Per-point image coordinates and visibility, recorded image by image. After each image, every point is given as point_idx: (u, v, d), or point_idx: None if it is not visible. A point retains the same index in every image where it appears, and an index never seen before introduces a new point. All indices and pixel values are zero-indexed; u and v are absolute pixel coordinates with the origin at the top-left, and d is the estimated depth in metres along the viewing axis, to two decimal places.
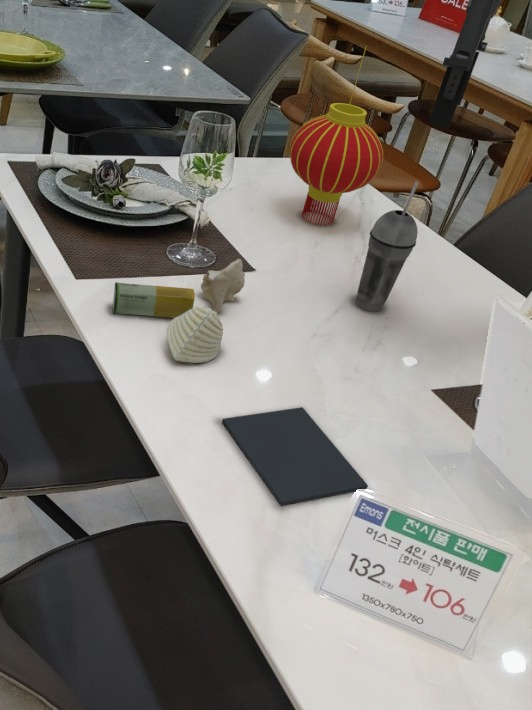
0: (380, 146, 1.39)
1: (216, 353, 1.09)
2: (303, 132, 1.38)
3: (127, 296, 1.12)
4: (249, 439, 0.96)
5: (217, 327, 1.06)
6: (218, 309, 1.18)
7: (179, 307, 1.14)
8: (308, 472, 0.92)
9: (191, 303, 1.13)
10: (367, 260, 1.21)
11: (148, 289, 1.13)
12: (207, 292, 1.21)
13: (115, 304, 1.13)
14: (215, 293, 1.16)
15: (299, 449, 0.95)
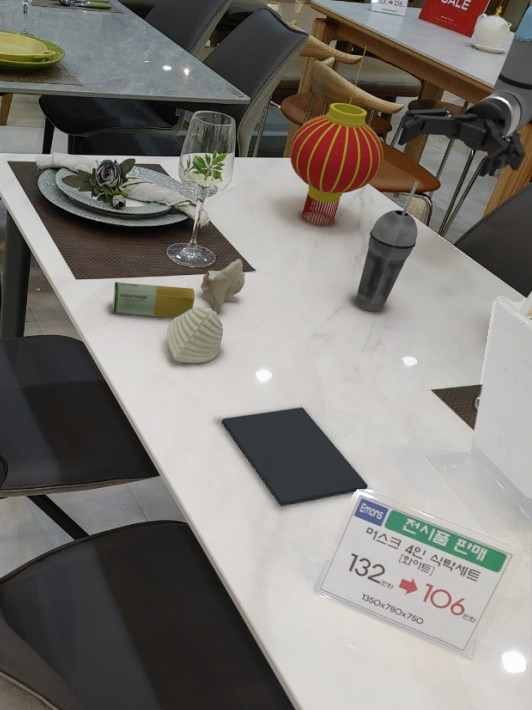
0: (380, 146, 1.39)
1: (216, 353, 1.09)
2: (303, 132, 1.38)
3: (127, 295, 1.12)
4: (249, 439, 0.96)
5: (217, 327, 1.06)
6: (218, 309, 1.18)
7: (179, 306, 1.14)
8: (308, 472, 0.92)
9: (191, 303, 1.14)
10: (367, 260, 1.21)
11: (148, 289, 1.13)
12: (207, 292, 1.21)
13: (115, 304, 1.13)
14: (215, 293, 1.16)
15: (299, 449, 0.95)
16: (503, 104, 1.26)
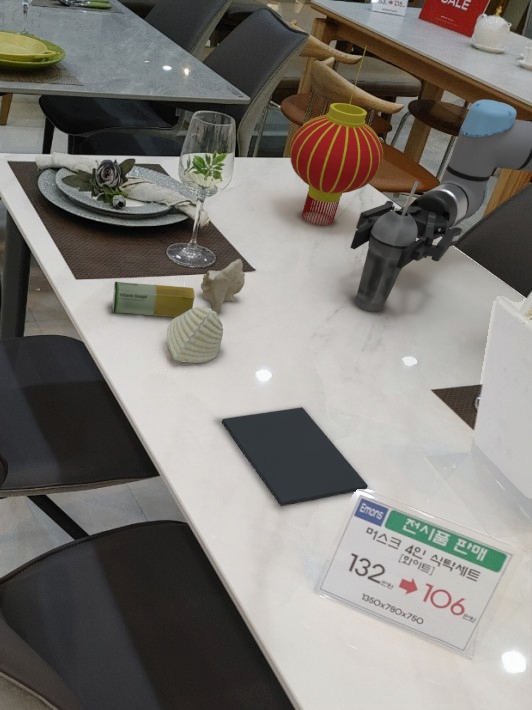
0: (380, 146, 1.39)
1: (216, 353, 1.09)
2: (303, 132, 1.38)
3: (127, 295, 1.12)
4: (249, 439, 0.96)
5: (217, 327, 1.06)
6: (218, 309, 1.18)
7: (179, 306, 1.14)
8: (308, 472, 0.92)
9: (191, 302, 1.14)
10: (367, 260, 1.21)
11: (148, 289, 1.13)
12: (207, 292, 1.21)
13: (115, 303, 1.13)
14: (215, 293, 1.16)
15: (299, 449, 0.95)
16: (448, 197, 1.27)
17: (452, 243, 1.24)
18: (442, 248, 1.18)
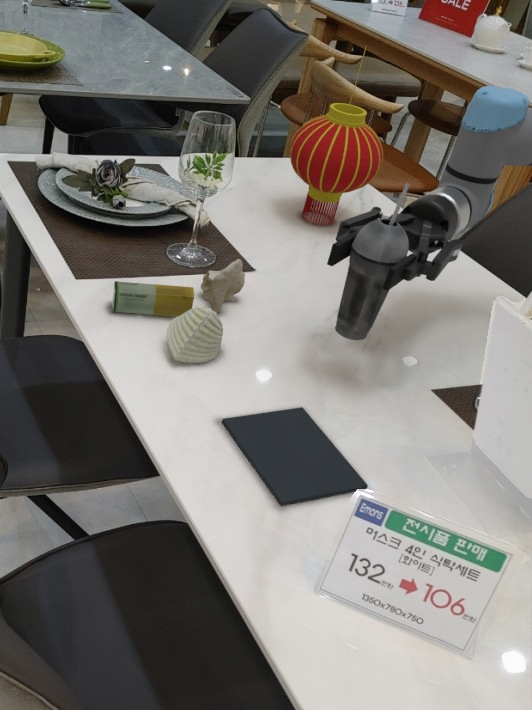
0: (380, 146, 1.39)
1: (216, 353, 1.09)
2: (303, 132, 1.38)
3: (127, 294, 1.12)
4: (249, 439, 0.96)
5: (217, 327, 1.06)
6: (218, 309, 1.18)
7: (178, 305, 1.14)
8: (308, 472, 0.92)
9: (191, 301, 1.14)
10: (348, 279, 1.00)
11: (148, 288, 1.13)
12: (207, 292, 1.21)
13: (115, 303, 1.14)
14: (215, 293, 1.16)
15: (299, 449, 0.95)
16: (446, 202, 1.05)
17: (451, 258, 1.03)
18: (439, 265, 0.97)
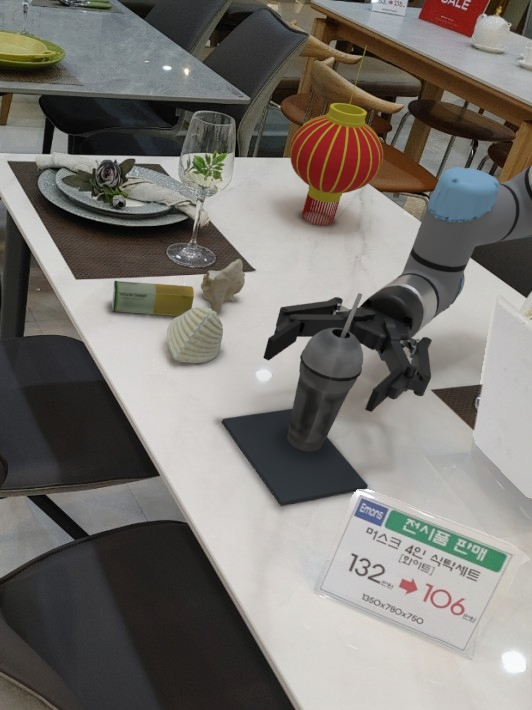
0: (380, 146, 1.39)
1: (216, 353, 1.09)
2: (303, 132, 1.38)
3: (127, 294, 1.13)
4: (249, 439, 0.96)
5: (217, 327, 1.06)
6: (218, 309, 1.18)
7: (178, 304, 1.14)
8: (308, 472, 0.92)
9: (191, 301, 1.14)
10: (298, 390, 0.91)
11: (148, 287, 1.13)
12: (207, 292, 1.21)
13: (115, 302, 1.14)
14: (215, 293, 1.16)
15: None
16: (410, 296, 0.96)
17: None
18: (429, 380, 0.87)
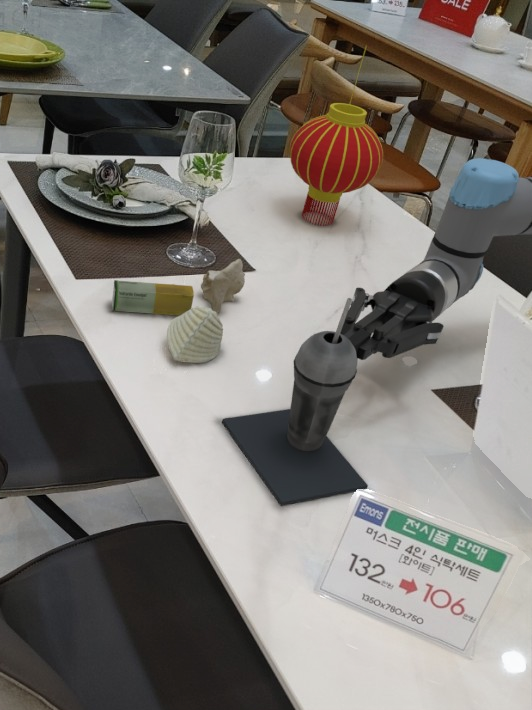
0: (380, 146, 1.39)
1: (216, 353, 1.09)
2: (303, 132, 1.38)
3: (127, 293, 1.13)
4: (249, 439, 0.96)
5: (217, 327, 1.06)
6: (218, 309, 1.18)
7: (178, 304, 1.14)
8: (308, 472, 0.92)
9: (190, 300, 1.14)
10: (294, 393, 0.90)
11: (148, 287, 1.13)
12: (207, 292, 1.21)
13: (114, 302, 1.14)
14: (215, 293, 1.16)
15: None
16: (433, 281, 1.01)
17: (427, 341, 0.98)
18: (393, 343, 0.93)
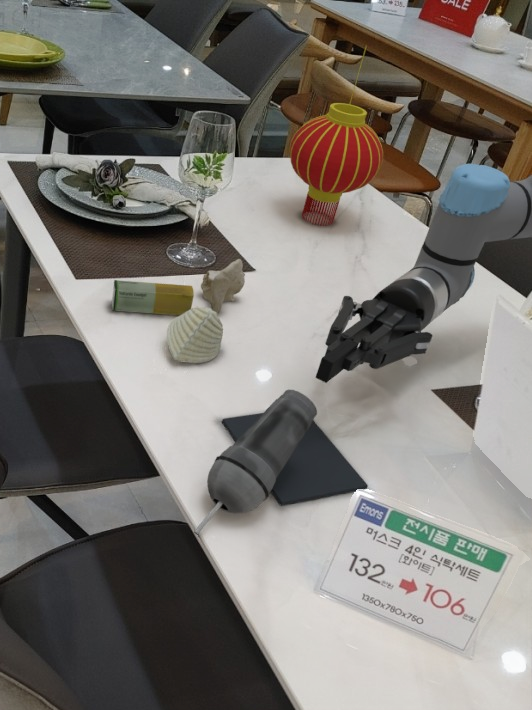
0: (380, 146, 1.39)
1: (216, 353, 1.09)
2: (303, 132, 1.38)
3: (127, 293, 1.13)
4: None
5: (217, 327, 1.06)
6: (218, 309, 1.18)
7: (178, 304, 1.14)
8: (308, 472, 0.92)
9: (190, 300, 1.14)
10: None
11: (148, 287, 1.13)
12: (207, 292, 1.21)
13: (114, 302, 1.14)
14: (215, 293, 1.16)
15: (299, 449, 0.95)
16: (422, 289, 0.99)
17: (416, 351, 0.96)
18: (380, 354, 0.91)
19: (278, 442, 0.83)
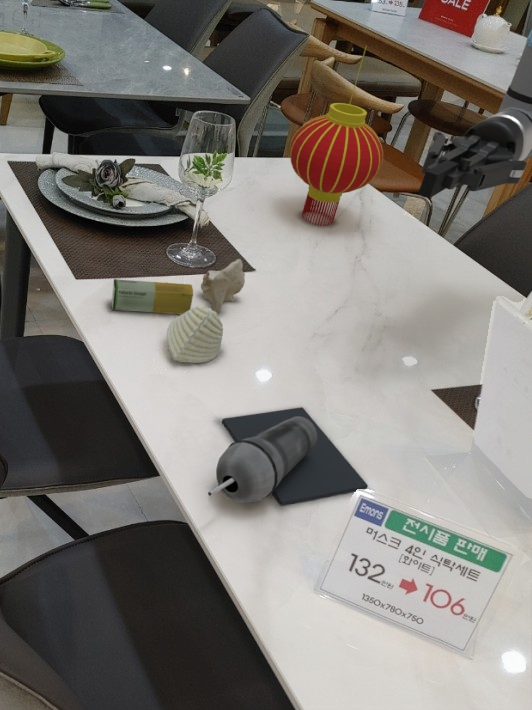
0: (380, 146, 1.39)
1: (216, 353, 1.09)
2: (303, 132, 1.38)
3: (126, 292, 1.13)
4: None
5: (217, 327, 1.06)
6: (218, 309, 1.18)
7: (178, 302, 1.15)
8: (308, 472, 0.92)
9: (190, 299, 1.14)
10: None
11: (147, 286, 1.14)
12: (207, 292, 1.21)
13: (114, 301, 1.14)
14: (215, 293, 1.16)
15: None
16: (513, 124, 1.00)
17: (510, 179, 0.97)
18: (480, 173, 0.92)
19: (289, 444, 0.87)
